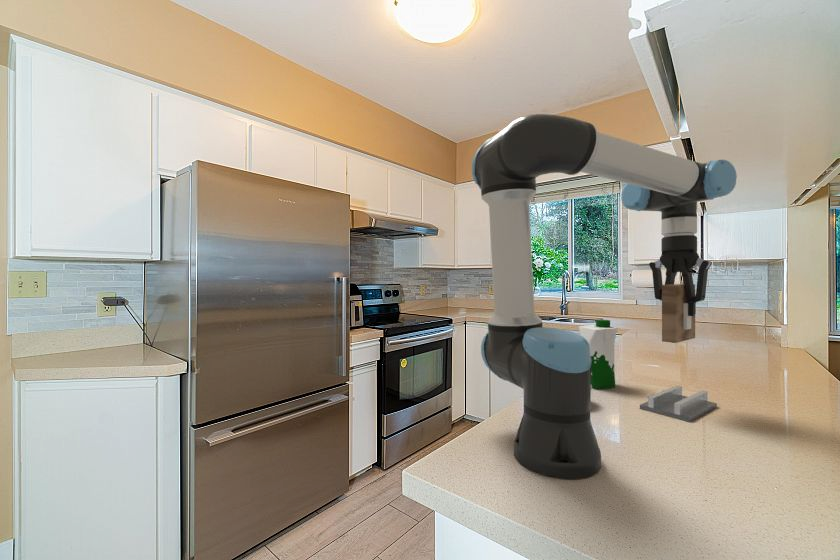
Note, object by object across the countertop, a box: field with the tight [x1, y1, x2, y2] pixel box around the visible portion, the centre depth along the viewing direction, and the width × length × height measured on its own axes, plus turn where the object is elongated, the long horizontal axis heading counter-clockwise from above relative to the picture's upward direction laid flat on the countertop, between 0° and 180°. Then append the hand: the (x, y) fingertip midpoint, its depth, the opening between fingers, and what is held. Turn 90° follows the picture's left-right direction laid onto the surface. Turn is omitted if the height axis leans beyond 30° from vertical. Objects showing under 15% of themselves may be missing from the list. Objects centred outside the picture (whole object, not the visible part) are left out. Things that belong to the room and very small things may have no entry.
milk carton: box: [578, 319, 618, 390], centre depth 117 cm, size 9×9×20 cm
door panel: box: [661, 283, 696, 344], centre depth 97 cm, size 12×3×14 cm, turn 125°
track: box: [639, 385, 718, 423], centre depth 97 cm, size 17×11×4 cm, turn 125°
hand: (678, 328), depth 97 cm, fingers closed on door panel, 3 cm apart
